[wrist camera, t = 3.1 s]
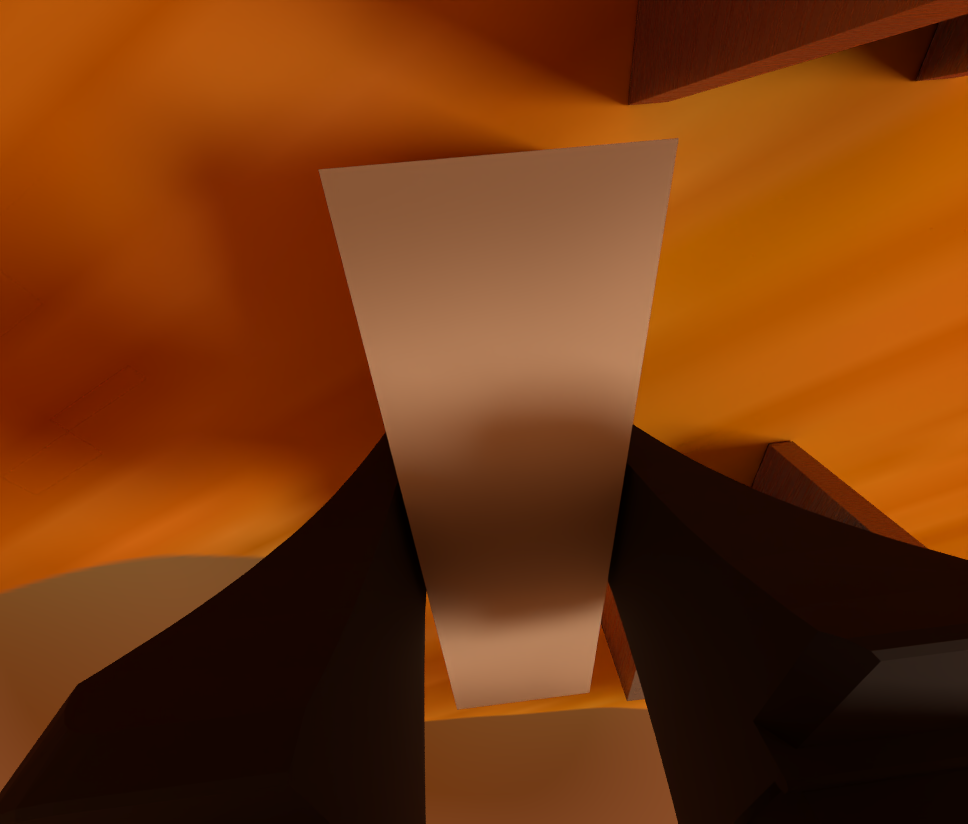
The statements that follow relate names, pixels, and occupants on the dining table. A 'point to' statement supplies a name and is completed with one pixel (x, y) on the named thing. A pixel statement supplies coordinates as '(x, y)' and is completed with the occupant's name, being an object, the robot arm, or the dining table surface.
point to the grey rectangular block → (777, 39)
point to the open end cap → (790, 481)
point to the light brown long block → (508, 385)
